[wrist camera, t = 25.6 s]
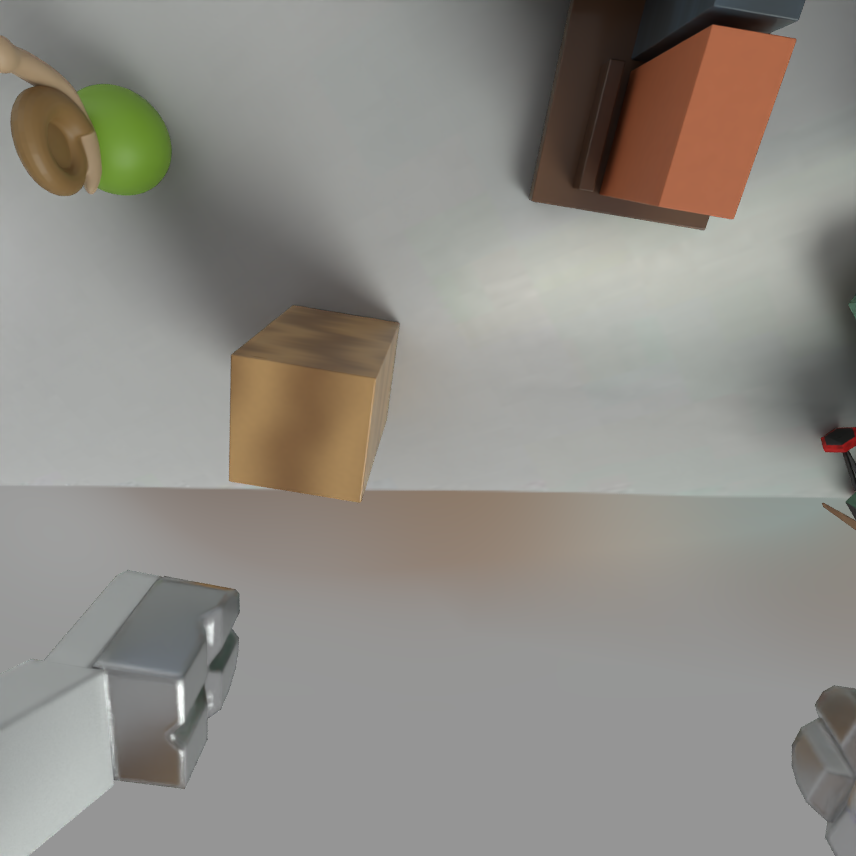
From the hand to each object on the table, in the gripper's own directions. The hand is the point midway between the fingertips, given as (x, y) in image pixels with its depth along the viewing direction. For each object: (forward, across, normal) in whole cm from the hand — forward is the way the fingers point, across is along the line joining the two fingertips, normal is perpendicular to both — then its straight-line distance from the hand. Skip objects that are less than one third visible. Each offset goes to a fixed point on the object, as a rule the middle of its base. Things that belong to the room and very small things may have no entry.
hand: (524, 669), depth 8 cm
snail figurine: (+31, +21, -5) cm, 38 cm away
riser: (+31, +8, +7) cm, 33 cm away
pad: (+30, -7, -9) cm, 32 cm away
